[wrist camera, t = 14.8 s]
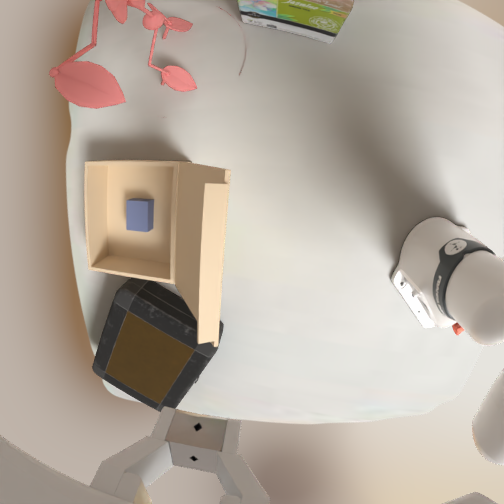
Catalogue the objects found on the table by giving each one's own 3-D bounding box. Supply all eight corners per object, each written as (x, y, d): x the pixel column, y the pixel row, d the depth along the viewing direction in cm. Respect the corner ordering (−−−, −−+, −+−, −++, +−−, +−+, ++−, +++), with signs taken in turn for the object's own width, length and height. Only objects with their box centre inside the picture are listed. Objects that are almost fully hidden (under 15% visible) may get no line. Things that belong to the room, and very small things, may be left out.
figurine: (157, 132, 43) (-21, 112, 10) (161, 4, 36) (60, -108, 2) (252, 124, 43) (209, 31, 9) (247, -8, 35) (221, -158, 1)
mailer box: (186, 267, 50) (174, 283, 44) (107, 256, 51) (88, 269, 44) (191, 161, 45) (178, 162, 38) (107, 159, 45) (84, 161, 39)
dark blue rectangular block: (153, 228, 48) (147, 232, 46) (132, 226, 48) (126, 229, 46) (154, 199, 46) (148, 201, 44) (133, 198, 47) (126, 200, 44)
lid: (162, 286, 43) (178, 284, 44) (198, 352, 29) (220, 348, 31) (165, 161, 37) (183, 161, 38) (205, 169, 24) (233, 170, 25)
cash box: (180, 396, 61) (171, 419, 54) (104, 352, 59) (89, 372, 52) (230, 323, 54) (224, 348, 46) (136, 268, 52) (117, 285, 44)
